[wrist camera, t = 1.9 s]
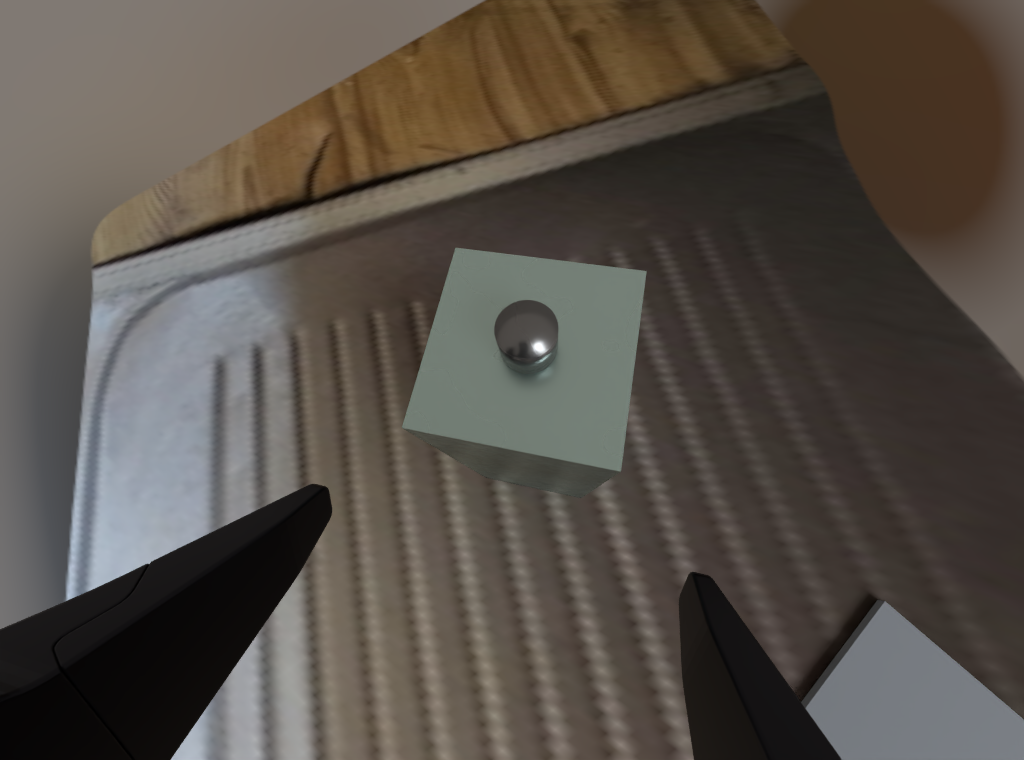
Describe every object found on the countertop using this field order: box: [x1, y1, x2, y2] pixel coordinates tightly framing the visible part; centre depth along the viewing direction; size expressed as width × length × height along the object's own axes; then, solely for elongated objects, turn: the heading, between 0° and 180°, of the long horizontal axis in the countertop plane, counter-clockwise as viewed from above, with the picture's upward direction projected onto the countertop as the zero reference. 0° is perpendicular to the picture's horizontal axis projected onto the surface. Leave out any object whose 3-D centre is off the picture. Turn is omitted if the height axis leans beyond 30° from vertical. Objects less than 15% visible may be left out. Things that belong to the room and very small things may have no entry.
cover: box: [402, 248, 646, 498], centre depth 15 cm, size 5×5×14 cm
